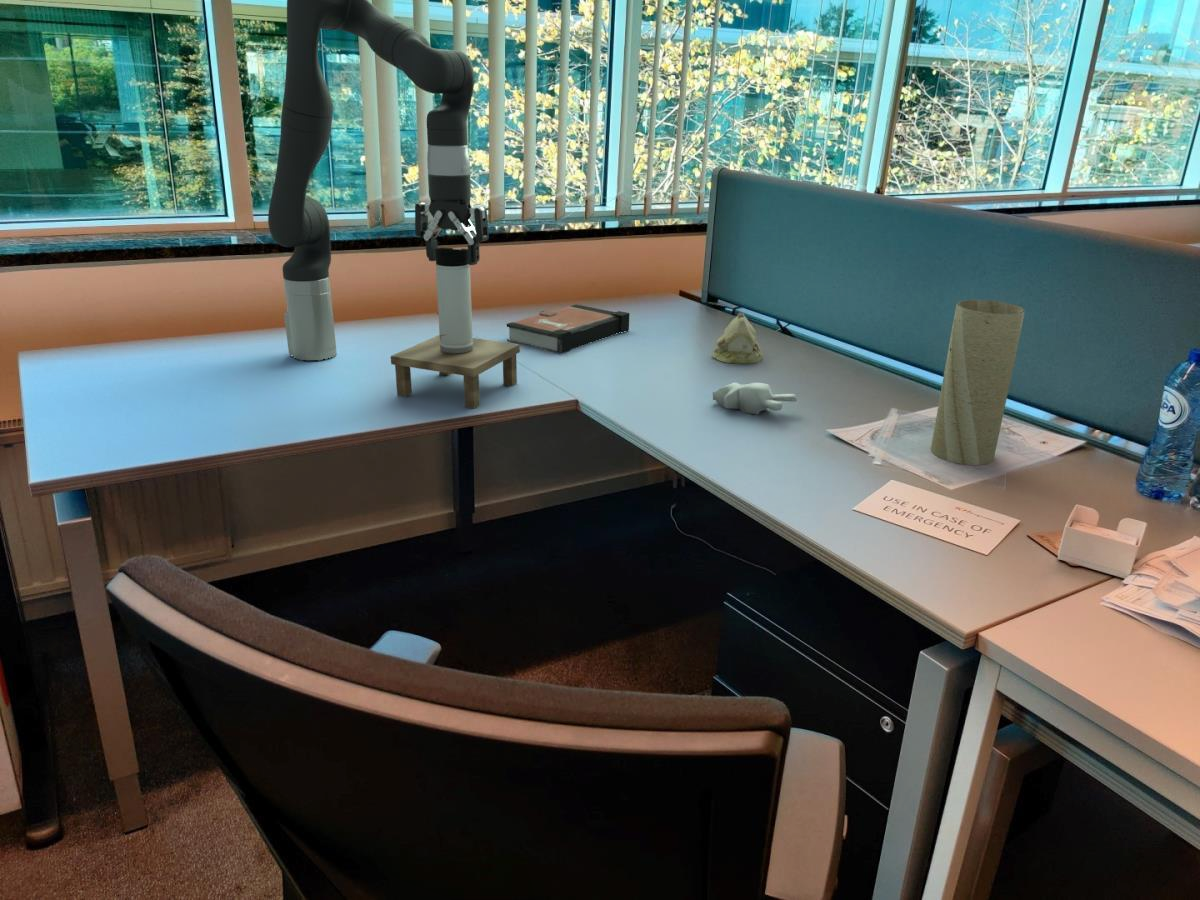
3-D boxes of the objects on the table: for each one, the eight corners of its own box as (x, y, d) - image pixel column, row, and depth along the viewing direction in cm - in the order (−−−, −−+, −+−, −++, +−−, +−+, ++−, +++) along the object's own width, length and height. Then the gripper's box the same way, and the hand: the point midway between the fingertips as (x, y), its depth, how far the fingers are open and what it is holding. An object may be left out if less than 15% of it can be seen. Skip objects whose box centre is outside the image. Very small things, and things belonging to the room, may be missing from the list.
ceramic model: (762, 366, 191) (766, 321, 187) (711, 362, 192) (714, 318, 188) (762, 348, 203) (766, 306, 200) (714, 345, 205) (717, 303, 201)
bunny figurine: (730, 375, 170) (800, 383, 161) (731, 400, 172) (800, 409, 163) (704, 387, 164) (776, 396, 154) (705, 413, 165) (776, 423, 156)
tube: (961, 468, 140) (991, 316, 130) (917, 446, 149) (942, 302, 139) (1007, 459, 144) (1039, 311, 134) (962, 438, 152) (989, 297, 143)
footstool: (393, 396, 167) (390, 356, 164) (443, 370, 182) (441, 333, 179) (475, 410, 161) (473, 368, 158) (520, 382, 176) (519, 344, 173)
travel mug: (434, 353, 166) (428, 247, 158) (447, 344, 172) (442, 241, 164) (465, 355, 165) (461, 249, 157) (477, 346, 171) (473, 243, 163)
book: (573, 321, 225) (574, 302, 223) (628, 332, 216) (629, 313, 214) (504, 341, 206) (504, 321, 204) (561, 355, 196) (561, 334, 194)
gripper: (494, 172, 157) (496, 262, 163) (426, 168, 161) (431, 256, 168) (472, 175, 150) (476, 269, 156) (403, 171, 155) (409, 262, 161)
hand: (452, 262), depth 162 cm, fingers open, 8 cm apart
